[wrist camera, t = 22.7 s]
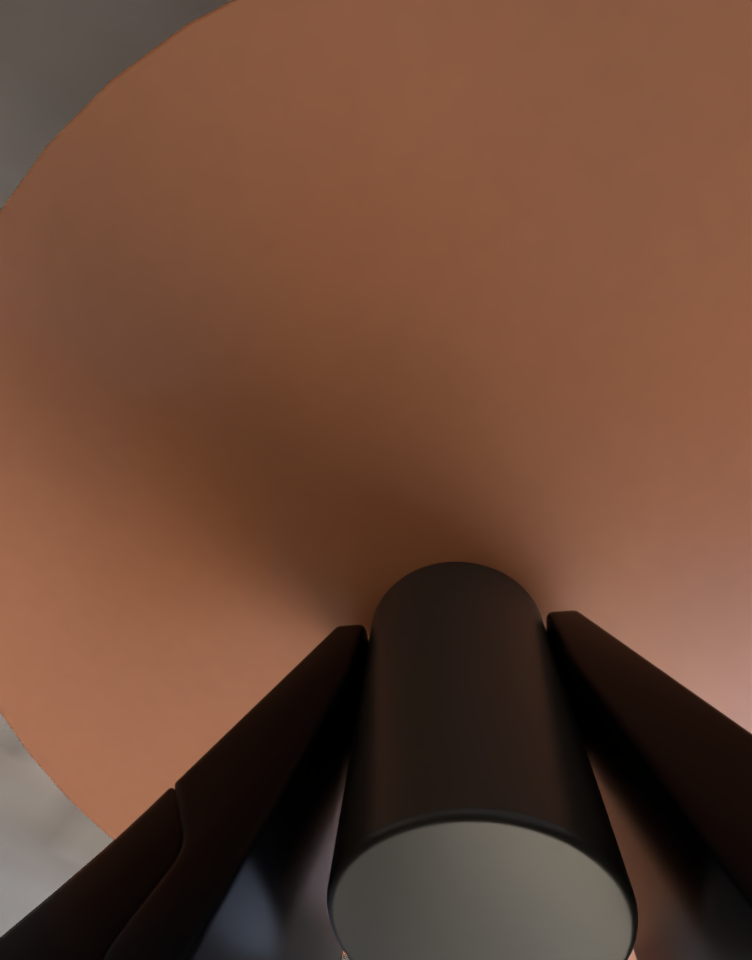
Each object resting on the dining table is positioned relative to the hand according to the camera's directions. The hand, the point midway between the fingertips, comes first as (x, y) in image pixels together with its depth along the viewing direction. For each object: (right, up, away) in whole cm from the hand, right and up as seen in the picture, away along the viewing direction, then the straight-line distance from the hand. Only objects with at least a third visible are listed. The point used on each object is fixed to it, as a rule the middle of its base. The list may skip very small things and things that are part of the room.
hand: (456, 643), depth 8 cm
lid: (0, 0, +1) cm, 1 cm away
